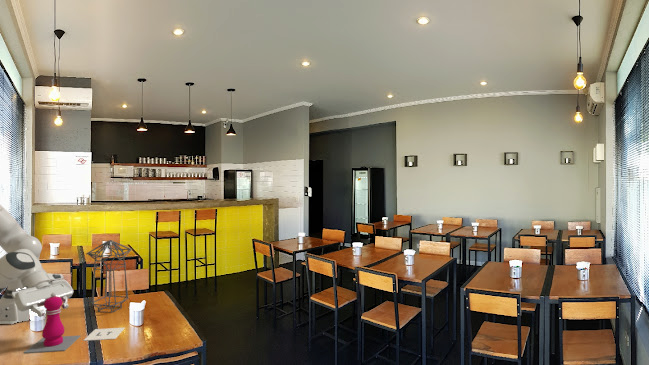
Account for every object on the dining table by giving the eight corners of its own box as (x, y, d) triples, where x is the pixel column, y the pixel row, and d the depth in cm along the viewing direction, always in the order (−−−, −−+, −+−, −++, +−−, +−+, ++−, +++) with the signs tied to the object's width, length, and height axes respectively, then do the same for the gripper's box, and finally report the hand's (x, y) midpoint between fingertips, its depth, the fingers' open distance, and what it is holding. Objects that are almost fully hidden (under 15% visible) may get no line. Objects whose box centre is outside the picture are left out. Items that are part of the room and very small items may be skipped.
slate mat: (23, 353, 147) (23, 352, 147) (43, 338, 161) (43, 337, 161) (64, 350, 150) (64, 349, 150) (80, 336, 163) (80, 335, 163)
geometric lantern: (133, 305, 203) (134, 238, 202) (113, 317, 188) (113, 244, 186) (106, 303, 206) (106, 237, 204) (83, 314, 190) (83, 242, 189)
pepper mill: (53, 348, 151) (53, 296, 151) (37, 346, 152) (37, 294, 152) (68, 340, 158) (68, 290, 158) (53, 339, 159) (53, 289, 159)
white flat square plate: (83, 340, 159) (83, 340, 159) (95, 329, 171) (95, 329, 171) (115, 338, 161) (115, 338, 161) (124, 328, 173) (124, 327, 173)
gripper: (13, 285, 148) (30, 314, 144) (66, 273, 167) (82, 299, 163) (5, 296, 149) (22, 325, 146) (58, 282, 169) (74, 308, 165)
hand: (54, 311), depth 155 cm, fingers open, 8 cm apart
